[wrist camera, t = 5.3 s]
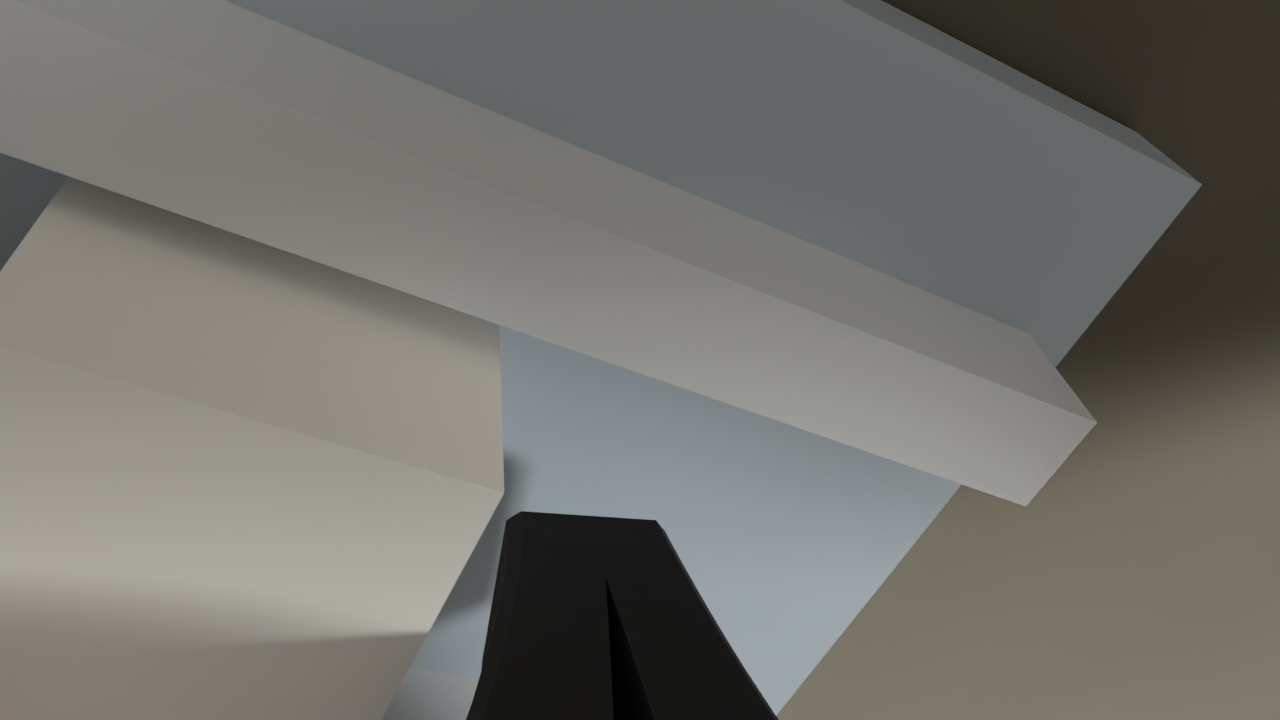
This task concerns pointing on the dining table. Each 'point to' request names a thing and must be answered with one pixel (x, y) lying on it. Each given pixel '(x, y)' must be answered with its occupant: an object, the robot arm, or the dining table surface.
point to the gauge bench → (647, 252)
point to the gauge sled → (226, 471)
